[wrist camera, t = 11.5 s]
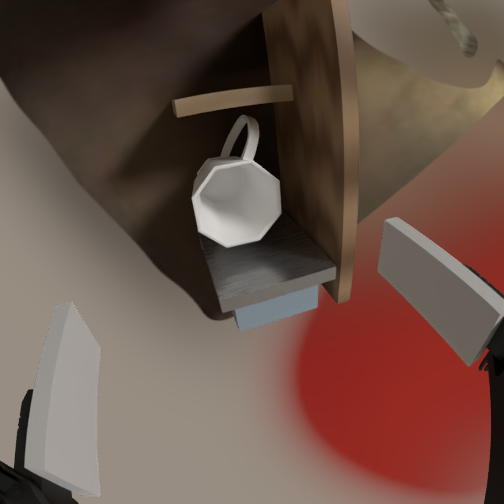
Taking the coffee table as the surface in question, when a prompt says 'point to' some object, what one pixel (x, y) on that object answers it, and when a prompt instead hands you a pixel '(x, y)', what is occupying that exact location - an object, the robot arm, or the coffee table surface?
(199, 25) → the coffee table surface
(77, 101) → the coffee table surface
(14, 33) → the coffee table surface
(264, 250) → the bookend
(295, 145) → the shelf wall
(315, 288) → the shelved book
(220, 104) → the divider
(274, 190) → the cup
